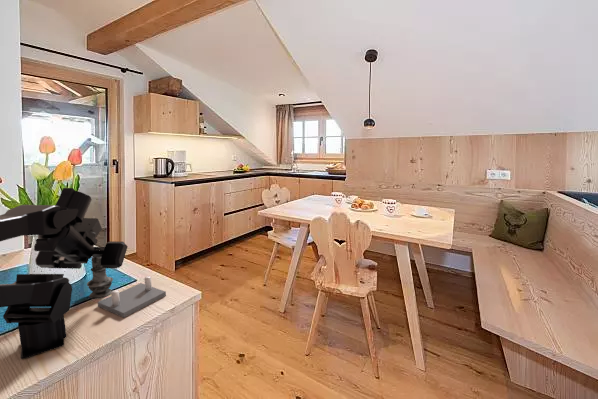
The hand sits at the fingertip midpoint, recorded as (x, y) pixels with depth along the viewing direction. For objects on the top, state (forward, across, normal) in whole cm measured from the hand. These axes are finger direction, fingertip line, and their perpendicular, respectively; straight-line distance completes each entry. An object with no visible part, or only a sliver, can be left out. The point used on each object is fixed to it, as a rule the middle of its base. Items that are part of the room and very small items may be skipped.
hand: (98, 266), depth 80 cm
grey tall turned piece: (+6, 0, +6) cm, 8 cm away
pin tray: (+3, -10, +8) cm, 13 cm away
